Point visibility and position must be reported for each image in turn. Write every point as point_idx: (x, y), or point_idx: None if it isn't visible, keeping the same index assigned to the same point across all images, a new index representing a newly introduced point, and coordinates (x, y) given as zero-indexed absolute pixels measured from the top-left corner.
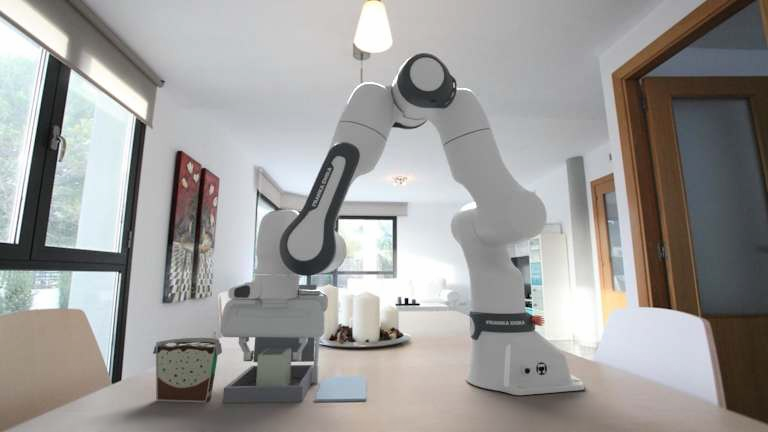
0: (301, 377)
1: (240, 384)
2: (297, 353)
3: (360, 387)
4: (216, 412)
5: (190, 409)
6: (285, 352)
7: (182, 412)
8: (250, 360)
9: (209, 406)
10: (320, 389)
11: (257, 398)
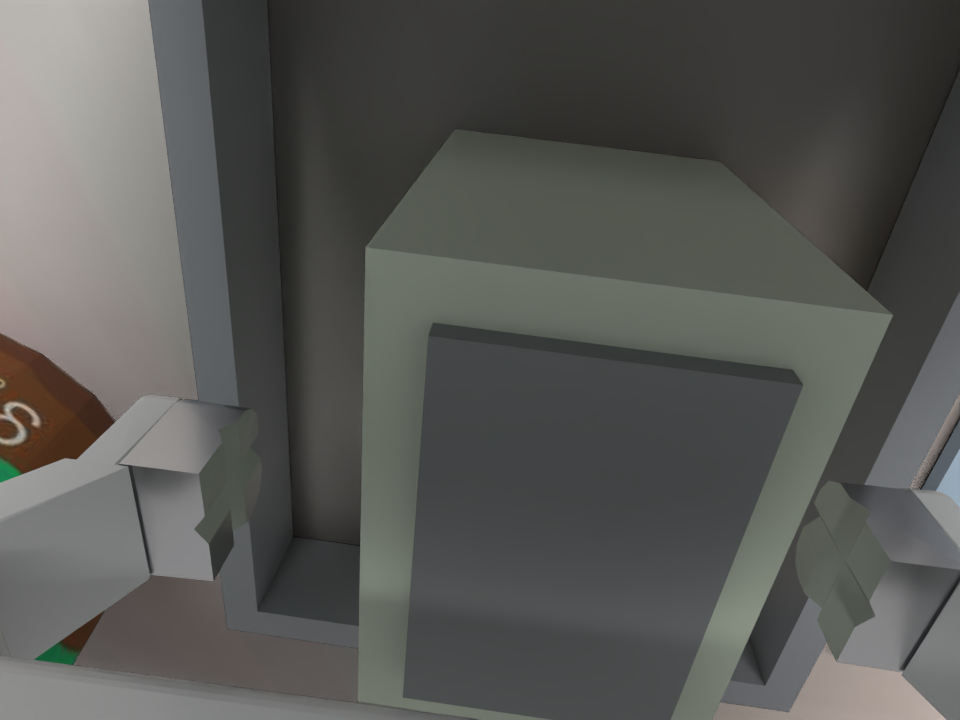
0: None
1: (262, 371)
2: (901, 657)
3: None
4: (293, 661)
5: (133, 601)
6: (724, 625)
7: (119, 628)
8: (251, 497)
9: (212, 582)
10: (957, 483)
11: None
